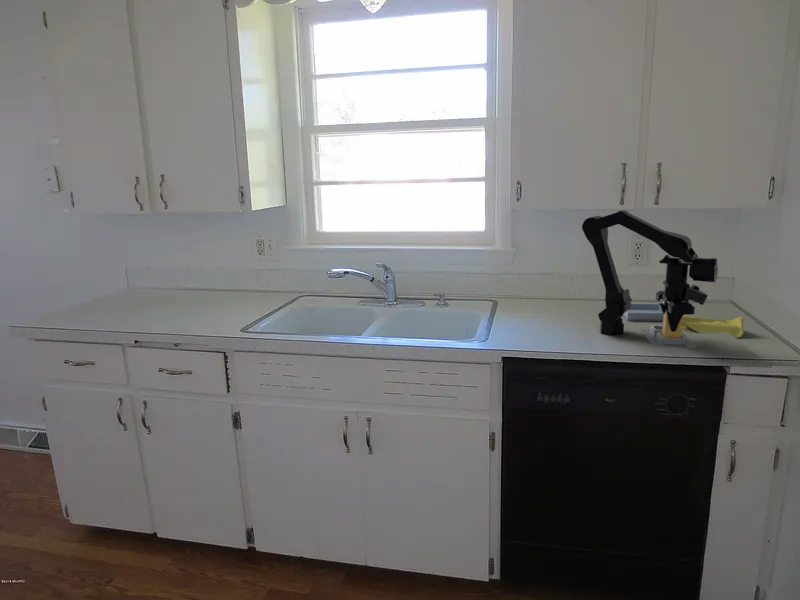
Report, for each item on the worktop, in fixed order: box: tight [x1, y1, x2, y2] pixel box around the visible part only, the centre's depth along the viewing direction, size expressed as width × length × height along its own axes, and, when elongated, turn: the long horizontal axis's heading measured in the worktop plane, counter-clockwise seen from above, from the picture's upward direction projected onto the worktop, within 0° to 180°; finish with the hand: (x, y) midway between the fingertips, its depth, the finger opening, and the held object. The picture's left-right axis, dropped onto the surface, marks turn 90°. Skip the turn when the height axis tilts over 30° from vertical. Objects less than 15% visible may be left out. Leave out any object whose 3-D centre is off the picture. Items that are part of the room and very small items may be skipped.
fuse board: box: [639, 324, 698, 349], centre depth 174 cm, size 12×18×4 cm, turn 169°
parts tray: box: [622, 302, 664, 323], centre depth 203 cm, size 14×14×3 cm
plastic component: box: [682, 314, 745, 339], centre depth 183 cm, size 20×7×10 cm
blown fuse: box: [662, 312, 683, 338], centre depth 169 cm, size 3×4×9 cm, turn 79°
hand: (671, 329), depth 169 cm, fingers closed on blown fuse, 3 cm apart
